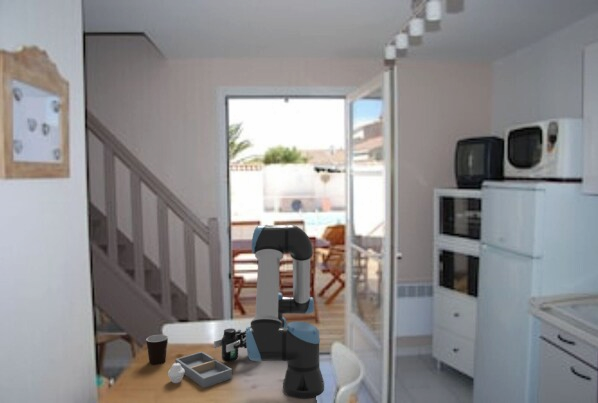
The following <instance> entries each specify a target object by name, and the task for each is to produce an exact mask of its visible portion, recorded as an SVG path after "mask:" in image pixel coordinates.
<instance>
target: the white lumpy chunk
mask: <svg viewBox="0 0 598 403" xmlns="http://www.w3.org/2000/svg"><path fill="white" fill-rule="evenodd" d="M184 373H185V370H184V369H183V368H182V367H181V364H180V363H175V362H174V363H173V364H172V365H171V367H170V369H169V370H168V371H167V375H168V377H169V380H170V381H171V382H172V384H179V383H180V382H182V379H183V377H184V376H185V374H184Z"/></svg>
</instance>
